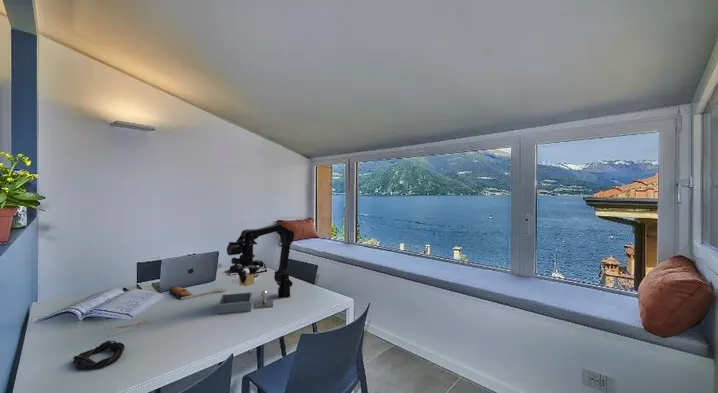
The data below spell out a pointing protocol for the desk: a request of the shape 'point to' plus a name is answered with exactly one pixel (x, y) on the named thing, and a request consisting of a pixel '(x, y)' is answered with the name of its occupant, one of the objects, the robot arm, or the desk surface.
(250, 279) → the wooden block
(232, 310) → the bin
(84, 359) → the cable
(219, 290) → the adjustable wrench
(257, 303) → the metal ball pedestal
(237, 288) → the desk surface
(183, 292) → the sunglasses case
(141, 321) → the forked twig
